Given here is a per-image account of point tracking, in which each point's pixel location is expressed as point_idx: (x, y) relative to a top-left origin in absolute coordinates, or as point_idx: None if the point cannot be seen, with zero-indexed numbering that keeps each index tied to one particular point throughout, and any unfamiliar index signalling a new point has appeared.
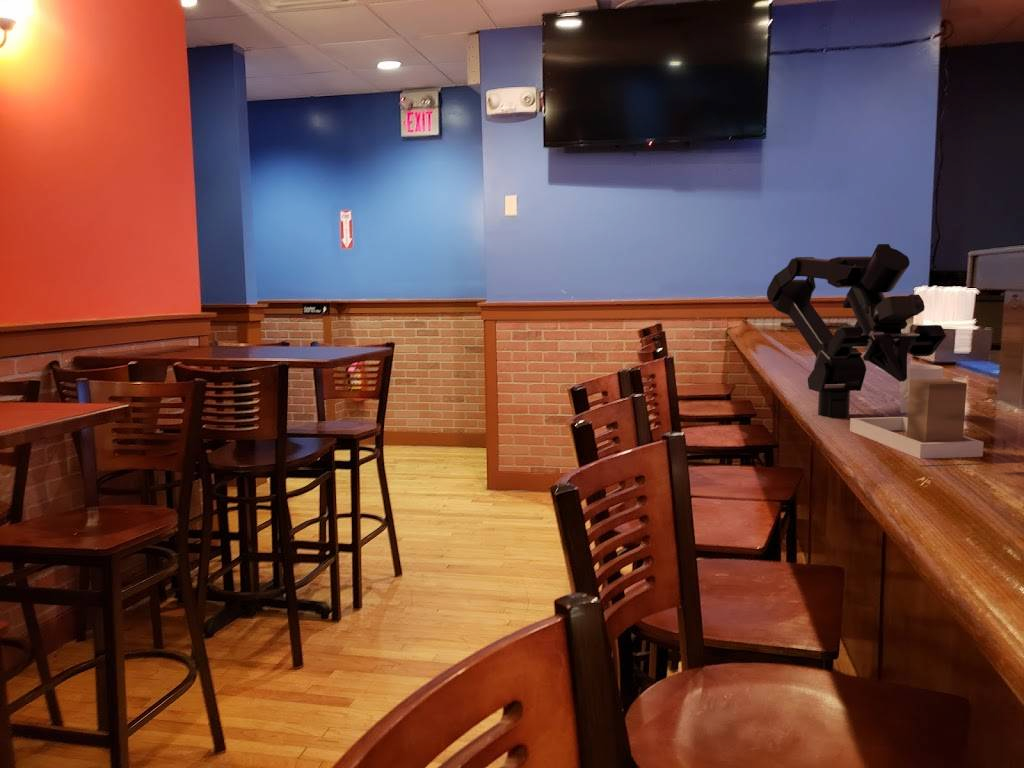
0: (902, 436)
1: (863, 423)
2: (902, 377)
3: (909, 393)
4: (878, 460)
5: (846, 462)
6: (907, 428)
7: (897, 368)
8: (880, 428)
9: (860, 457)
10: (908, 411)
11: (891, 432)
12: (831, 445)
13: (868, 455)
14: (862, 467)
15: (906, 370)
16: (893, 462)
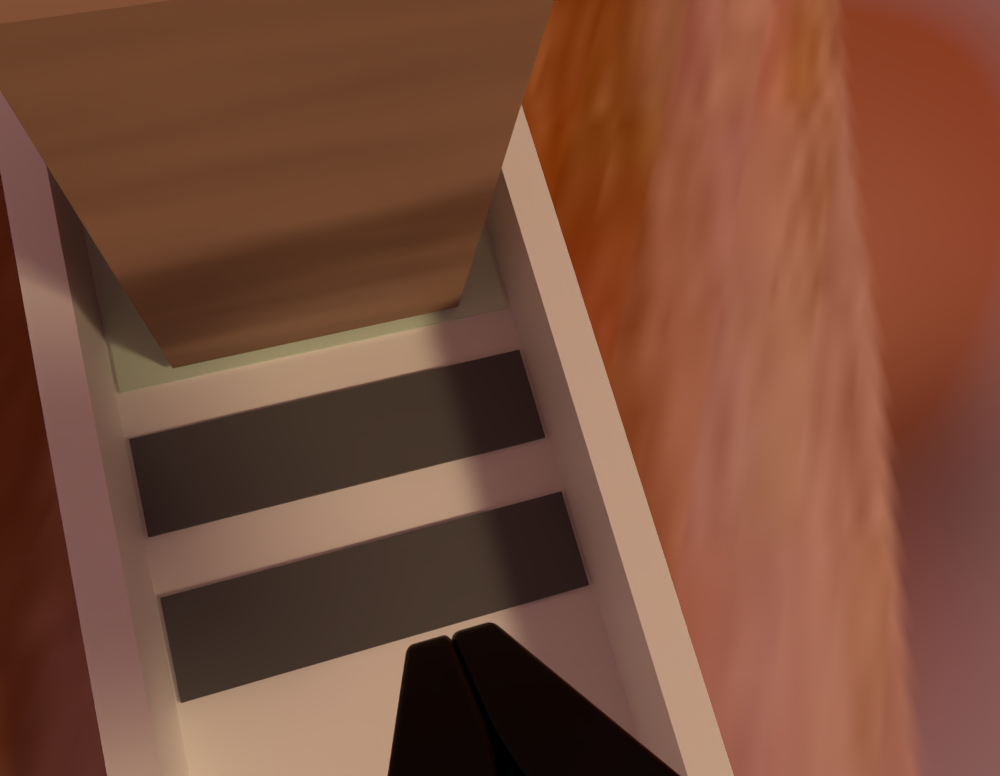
0: (528, 183)
1: (721, 745)
2: (490, 625)
3: (532, 63)
4: (654, 191)
5: (841, 134)
6: (475, 244)
7: (600, 729)
8: (624, 489)
9: (747, 260)
10: (497, 172)
11: (572, 328)
12: (890, 610)
13: (689, 318)
14: (771, 31)
15: (402, 748)
16: (577, 148)
